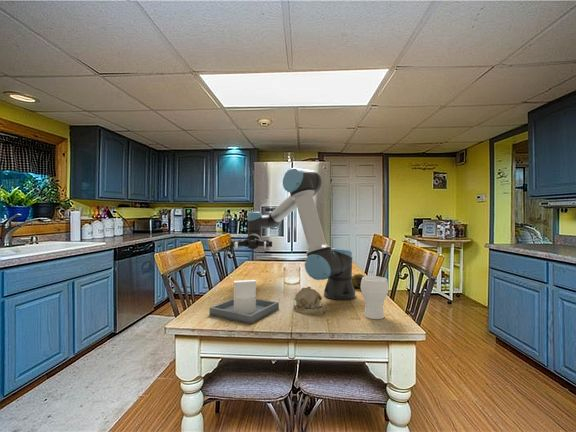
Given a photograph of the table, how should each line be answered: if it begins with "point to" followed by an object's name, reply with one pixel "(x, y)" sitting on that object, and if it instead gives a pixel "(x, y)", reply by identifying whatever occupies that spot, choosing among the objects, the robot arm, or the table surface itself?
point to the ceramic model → (308, 302)
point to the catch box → (227, 312)
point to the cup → (374, 295)
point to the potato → (357, 280)
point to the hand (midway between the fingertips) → (250, 245)
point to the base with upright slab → (245, 296)
